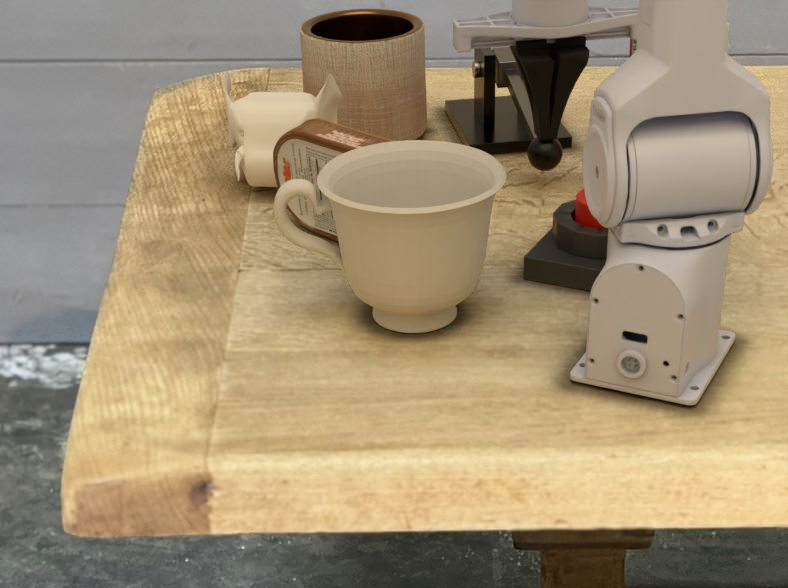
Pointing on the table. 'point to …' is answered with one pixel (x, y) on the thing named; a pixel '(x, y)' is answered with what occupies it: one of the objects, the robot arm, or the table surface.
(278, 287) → the table surface
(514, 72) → the lever
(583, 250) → the button box
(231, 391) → the table surface
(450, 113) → the bracket
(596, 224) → the button
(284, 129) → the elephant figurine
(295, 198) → the tin
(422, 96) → the planter
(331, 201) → the teacup
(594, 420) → the table surface
